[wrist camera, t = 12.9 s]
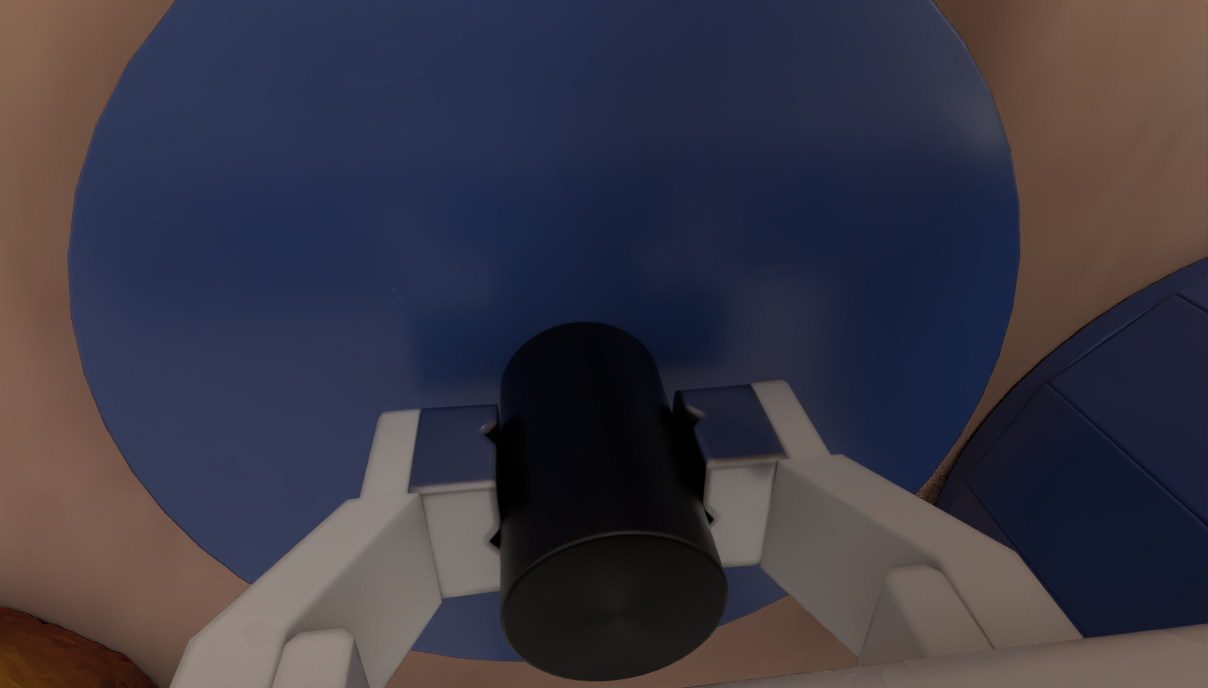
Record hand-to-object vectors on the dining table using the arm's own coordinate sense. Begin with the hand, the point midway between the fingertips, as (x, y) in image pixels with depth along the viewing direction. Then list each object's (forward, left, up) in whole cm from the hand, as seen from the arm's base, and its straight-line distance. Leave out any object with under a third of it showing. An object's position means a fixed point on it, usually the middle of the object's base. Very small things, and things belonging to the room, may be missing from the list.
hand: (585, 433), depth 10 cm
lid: (0, 0, -2) cm, 2 cm away
